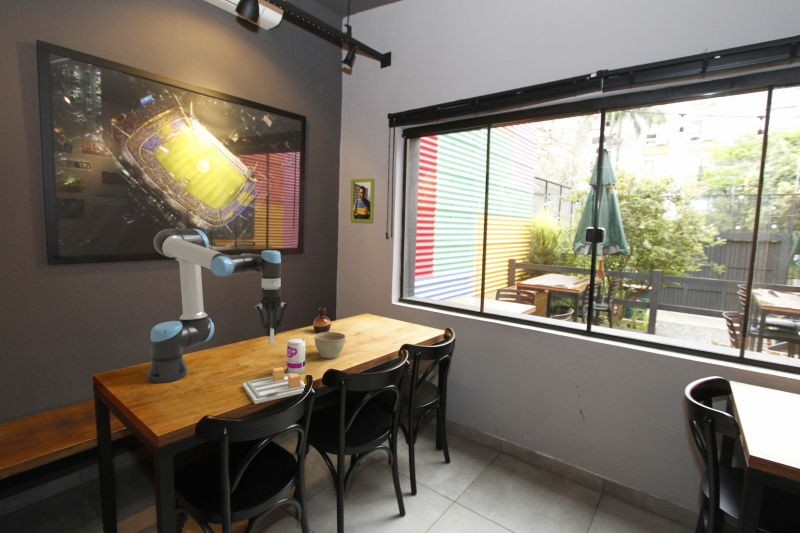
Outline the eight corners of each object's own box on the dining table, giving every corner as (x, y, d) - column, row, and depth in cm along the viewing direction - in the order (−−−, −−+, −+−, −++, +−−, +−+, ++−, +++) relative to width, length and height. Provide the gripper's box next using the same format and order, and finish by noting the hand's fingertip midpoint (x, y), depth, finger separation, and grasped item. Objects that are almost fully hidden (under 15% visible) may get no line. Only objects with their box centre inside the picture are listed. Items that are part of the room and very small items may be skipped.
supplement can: (295, 376, 176) (296, 344, 174) (283, 372, 180) (283, 340, 178) (308, 371, 182) (309, 340, 181) (296, 367, 187) (296, 336, 185)
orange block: (275, 382, 165) (275, 371, 164) (272, 379, 167) (272, 368, 167) (284, 380, 167) (284, 369, 166) (281, 377, 170) (281, 366, 169)
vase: (328, 334, 242) (329, 310, 240) (311, 333, 242) (311, 309, 240) (332, 329, 253) (332, 306, 251) (315, 328, 253) (315, 305, 251)
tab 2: (290, 389, 158) (291, 377, 158) (288, 386, 161) (288, 375, 161) (300, 387, 161) (300, 376, 160) (297, 384, 164) (297, 373, 163)
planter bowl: (351, 356, 205) (351, 336, 203) (326, 363, 193) (326, 342, 192) (332, 348, 216) (333, 329, 214) (307, 355, 204) (308, 335, 203)
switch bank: (255, 404, 148) (255, 397, 148) (242, 386, 163) (242, 380, 162) (309, 391, 161) (309, 385, 160) (293, 376, 175) (293, 371, 175)
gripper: (257, 290, 152) (257, 348, 155) (289, 288, 160) (289, 343, 163) (252, 287, 159) (252, 343, 161) (283, 285, 166) (283, 338, 169)
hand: (271, 343), depth 162 cm, fingers closed
